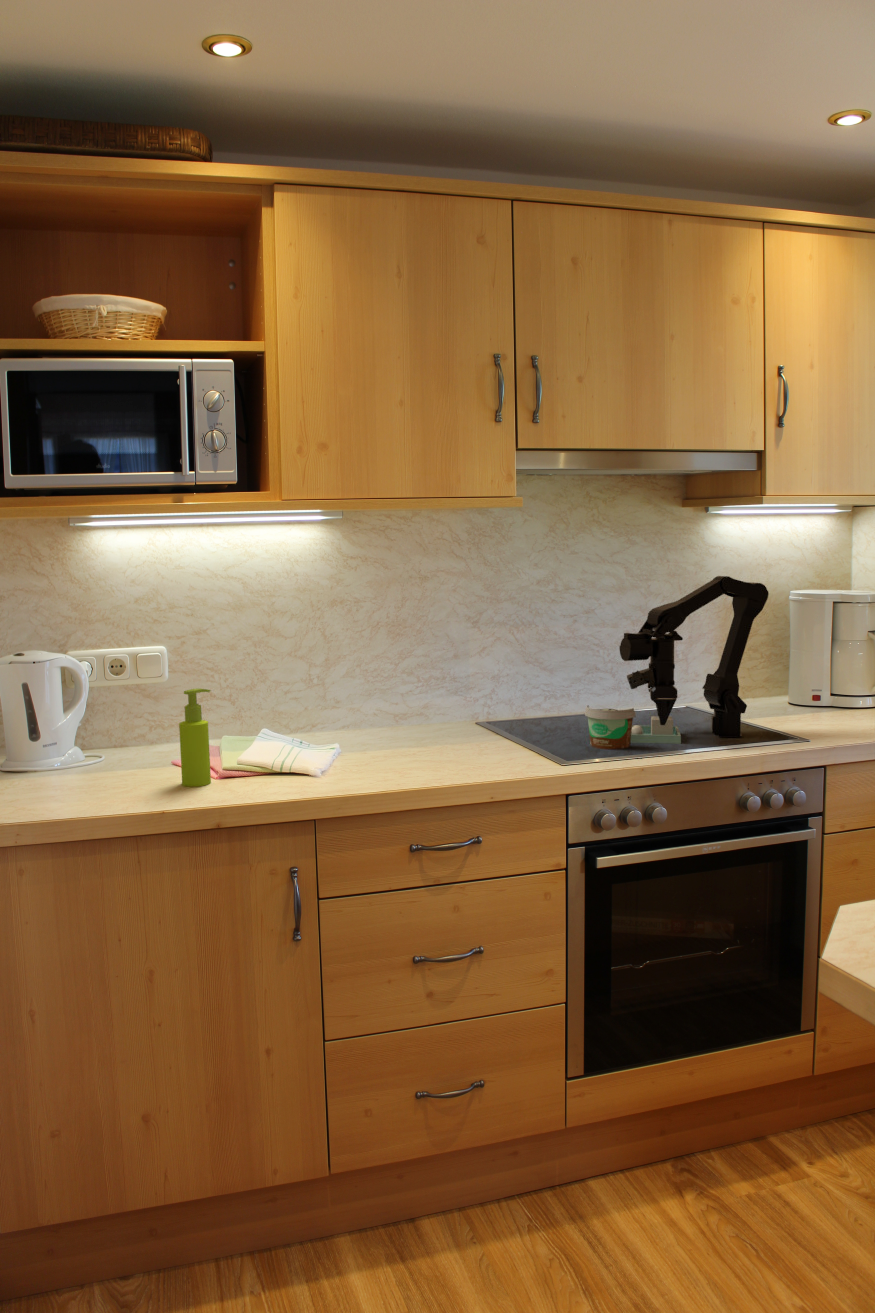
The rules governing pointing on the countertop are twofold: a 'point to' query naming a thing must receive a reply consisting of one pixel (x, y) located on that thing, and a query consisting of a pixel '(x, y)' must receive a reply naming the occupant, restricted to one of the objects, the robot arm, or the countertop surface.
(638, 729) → the pebble
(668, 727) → the beige cube
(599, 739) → the food container
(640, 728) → the pebble
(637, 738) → the tray
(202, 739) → the soap dispenser
